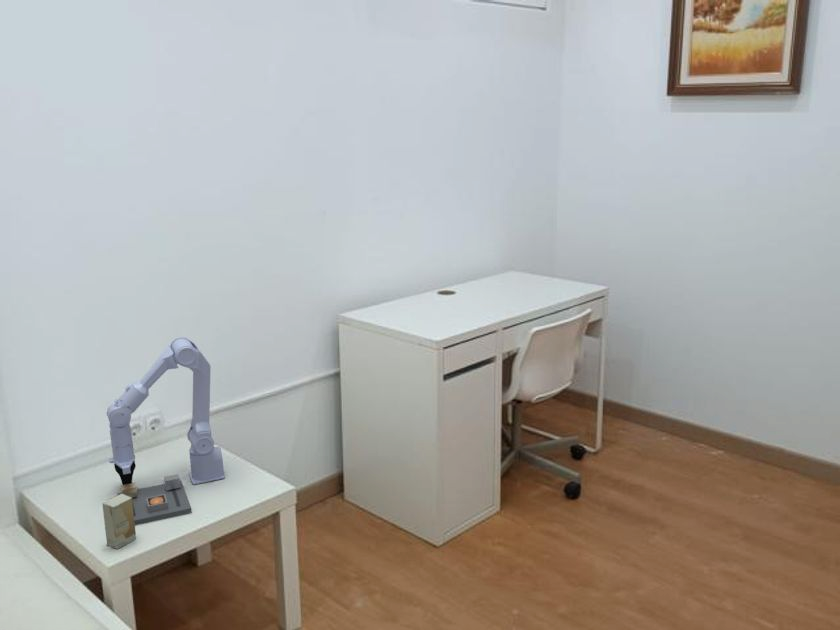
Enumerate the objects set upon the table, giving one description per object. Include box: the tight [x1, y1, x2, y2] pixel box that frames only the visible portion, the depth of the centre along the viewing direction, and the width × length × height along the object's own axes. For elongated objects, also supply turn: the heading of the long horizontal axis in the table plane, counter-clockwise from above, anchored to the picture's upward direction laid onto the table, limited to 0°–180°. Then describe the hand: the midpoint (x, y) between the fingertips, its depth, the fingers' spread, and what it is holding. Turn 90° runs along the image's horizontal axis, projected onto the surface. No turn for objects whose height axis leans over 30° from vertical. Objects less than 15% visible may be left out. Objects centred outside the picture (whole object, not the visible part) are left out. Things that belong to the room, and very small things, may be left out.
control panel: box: [117, 480, 193, 526], centre depth 223 cm, size 18×18×4 cm
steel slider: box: [163, 473, 181, 490], centre depth 229 cm, size 4×3×3 cm
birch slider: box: [120, 482, 138, 498], centre depth 225 cm, size 4×3×3 cm
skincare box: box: [102, 494, 137, 550], centre depth 204 cm, size 6×4×12 cm
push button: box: [150, 497, 164, 505], centre depth 220 cm, size 4×4×2 cm
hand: (127, 485), depth 230 cm, fingers closed
